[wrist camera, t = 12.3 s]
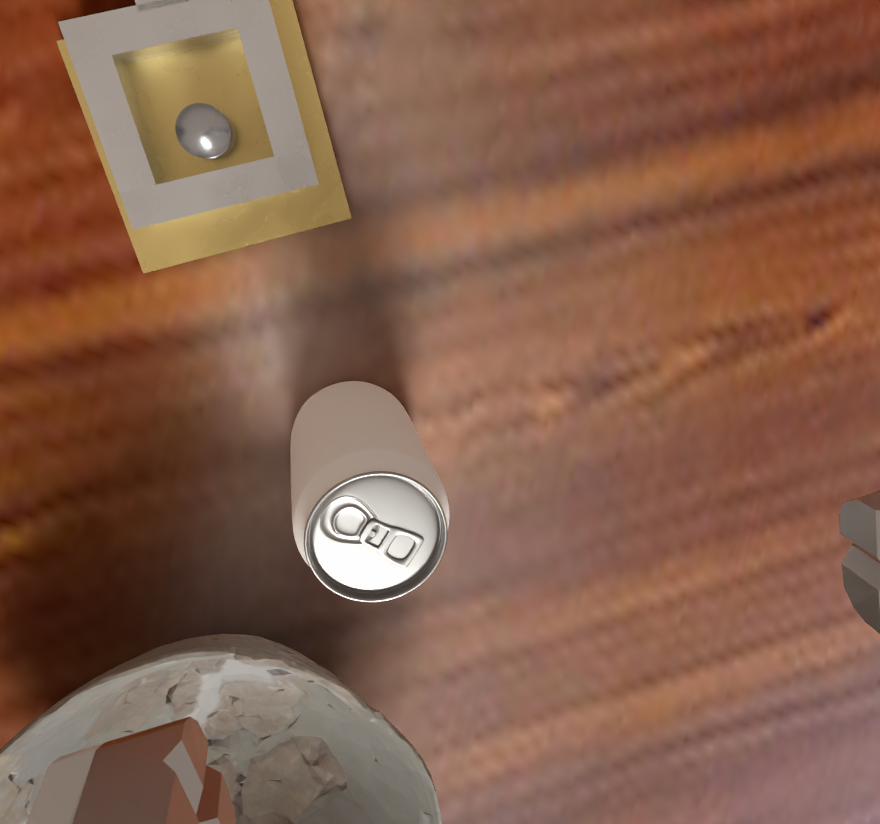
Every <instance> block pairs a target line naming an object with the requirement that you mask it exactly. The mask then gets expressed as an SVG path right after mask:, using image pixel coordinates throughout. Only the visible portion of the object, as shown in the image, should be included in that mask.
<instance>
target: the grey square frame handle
mask: <svg viewBox="0 0 880 824" xmlns="http://www.w3.org/2000/svg"><path fill="white" fill-rule="evenodd" d="M135 3H136V5H134V6H130V7H125V8H121V9H116V10H111V11H107V12H102V13H97V14H93V15H88V16H83V17H79V18H74V19H69V20H65V21H60V22H58V23H59V26H60V29H61V32H62V35H63V37H64V40H65V43H66V46H67V49H68V51H69V54H70V57H71V60H72V62H73V65H74V68H75V71H76V74H77V76H78V79H79V82H80V85H81V87H82V90H83V93H84V96H85V99H86V101H87V104H88V107H89V110H90V112H91V115H92V118H93V121H94V124H95V126H96V129H97V132H98V135H99V137H100V140H101V143H102V146H103V149H104V151H105V154H106V157H107V160H108V162H109V165H110V168H111V171H112V174H113V176H114V179H115V182H116V185H117V187H118V190H119V193H120V196H121V199H122V201H123V204H124V207H125V210H126V212H127V215H128V218H129V221H130V224H131V226H132V229H133V230H134V229H138V228H142V227H146V226H150V225H154V224H158V223H162V222H166V221H170V220H174V219H179V218H183V217H187V216H191V215H195V214H199V213H203V212H207V211H211V210H215V209H219V208H223V207H227V206H231V205H235V204H239V203H244V202H248V201H252V200H256V199H260V198H264V197H268V196H272V195H276V194H280V193H284V192H288V191H292V190H296V189H300V188H305V187H309V186H313V185H317V184H319V183H318V179H317V176H316V172H315V168H314V165H313V161H312V157H311V154H310V150H309V146H308V143H307V139H306V135H305V131H304V128H303V124H302V120H301V117H300V113H299V109H298V106H297V102H296V98H295V95H294V91H293V87H292V83H291V80H290V76H289V72H288V69H287V65H286V61H285V58H284V54H283V50H282V47H281V43H280V39H279V36H278V32H277V28H276V24H275V21H274V17H273V13H272V10H271V6H270V2H269V0H135ZM240 39H241V42H242V46H243V49H244V53H245V56H246V60H247V63H248V67H249V70H250V74H251V77H252V81H253V84H254V88H255V91H256V94H257V98H258V101H259V105H260V108H261V112H262V115H263V119H264V122H265V126H266V129H267V133H268V136H269V140H270V143H271V147H272V150H273V154H274V157H270V158H265V159H261V160H257V161H253V162H249V163H245V164H240V165H236V166H232V167H228V168H224V169H220V170H215V171H211V172H207V173H203V174H199V175H195V176H191V177H186V178H182V179H178V180H174V181H170V182H166V180H165V177H164V175H163V172H162V169H161V166H160V163H159V160H158V157H157V154H156V151H155V148H154V145H153V142H152V139H151V136H150V133H149V130H148V127H147V124H146V121H145V118H144V115H143V112H142V109H141V106H140V103H139V101H138V98H137V95H136V92H135V89H134V86H133V83H132V80H131V77H130V74H129V71H128V68H127V64H132V63H136V62H141V61H145V60H150V59H154V58H159V57H163V56H168V55H172V54H177V53H181V52H186V51H190V50H195V49H199V48H204V47H208V46H213V45H217V44H222V43H226V42H231V41H235V40H240Z"/></svg>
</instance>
